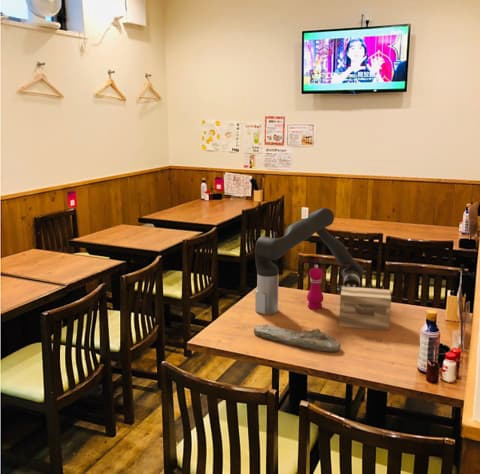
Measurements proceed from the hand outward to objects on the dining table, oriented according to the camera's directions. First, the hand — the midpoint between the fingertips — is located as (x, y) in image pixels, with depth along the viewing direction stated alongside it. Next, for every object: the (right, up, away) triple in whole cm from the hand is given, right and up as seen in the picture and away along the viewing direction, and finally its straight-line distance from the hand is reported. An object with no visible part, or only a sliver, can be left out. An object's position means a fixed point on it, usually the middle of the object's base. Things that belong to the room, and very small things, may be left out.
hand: (350, 296), depth 219 cm
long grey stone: (-27, -15, -25) cm, 39 cm away
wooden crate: (+4, -10, -8) cm, 14 cm away
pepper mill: (-14, -6, +9) cm, 18 cm away
